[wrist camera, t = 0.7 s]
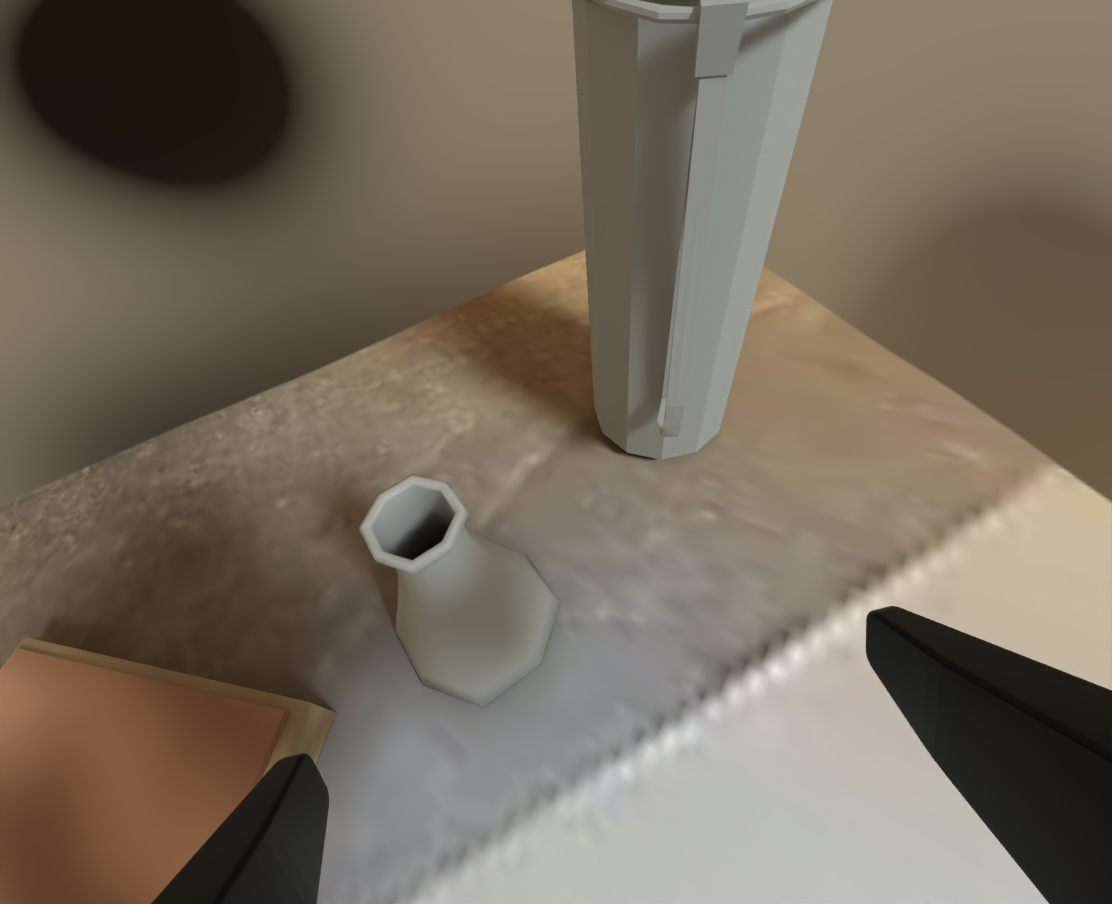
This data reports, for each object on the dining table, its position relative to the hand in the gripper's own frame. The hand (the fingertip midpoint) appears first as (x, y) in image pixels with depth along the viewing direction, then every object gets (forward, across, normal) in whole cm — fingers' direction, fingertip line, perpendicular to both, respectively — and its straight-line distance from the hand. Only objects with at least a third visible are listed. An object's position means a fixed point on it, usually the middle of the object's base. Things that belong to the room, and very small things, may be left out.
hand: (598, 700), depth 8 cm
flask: (+15, +4, +9) cm, 18 cm away
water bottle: (+21, -7, +4) cm, 23 cm away
